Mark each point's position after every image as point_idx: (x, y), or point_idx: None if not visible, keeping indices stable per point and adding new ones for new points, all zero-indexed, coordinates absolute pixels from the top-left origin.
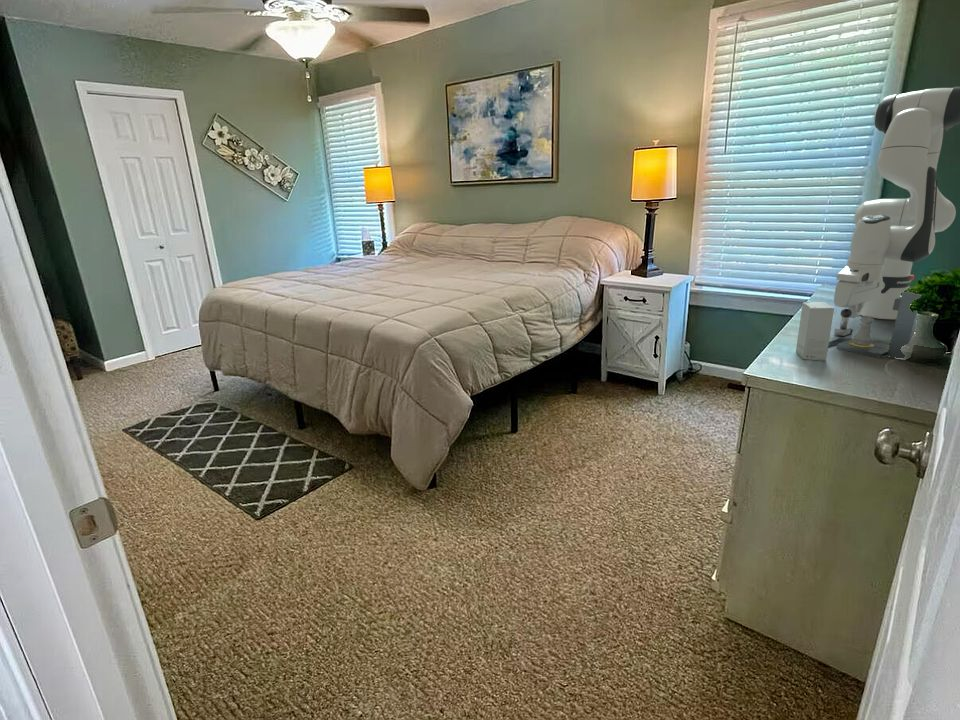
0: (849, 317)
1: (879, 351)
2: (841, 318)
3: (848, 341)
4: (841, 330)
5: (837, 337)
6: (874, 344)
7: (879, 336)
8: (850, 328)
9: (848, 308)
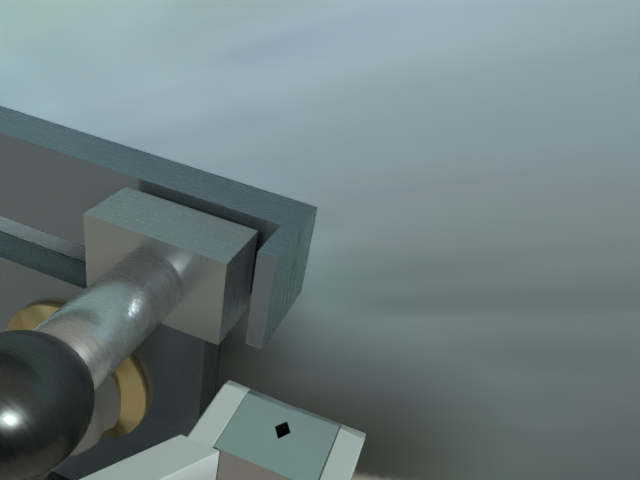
0: (232, 385)
1: None
2: (52, 315)
3: None
4: (92, 269)
5: (80, 223)
6: (141, 436)
7: (540, 474)
8: (206, 337)
9: (109, 467)
